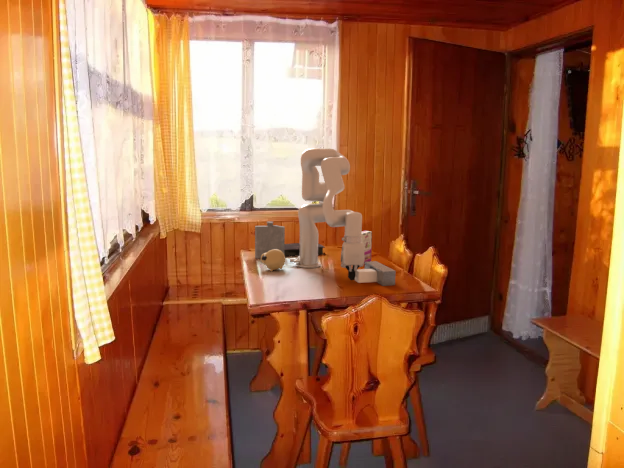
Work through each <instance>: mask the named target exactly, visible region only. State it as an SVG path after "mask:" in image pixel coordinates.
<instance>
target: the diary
mask: <svg viewBox="0 0 624 468" xmlns="http://www.w3.org/2000/svg"><path fill="white" fill-rule="evenodd" d="M324 248H326V247H325V246H324V245H323V244H320V243H318V256H324V255H325V253H324V252H323V251H324ZM299 252H300V242H293V243H285V246H284V255H285V258H287V257H298V256H299Z"/></svg>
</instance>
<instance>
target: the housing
mask: <svg viewBox="0 0 624 468" xmlns="http://www.w3.org/2000/svg"><path fill="white" fill-rule="evenodd" d="M374 268H375V269H376V270H378V271H377V282H376V283H377V284H379V285H380V286H382V287H385V286H387V287H389V286H396V274H397V273H396V270H395V269H393V268H391V267H389V266H386V265H385V264H383V263H381V262H379V261H376V260H373V261H372V260H371V261H370V262H365V263H364V269H374Z"/></svg>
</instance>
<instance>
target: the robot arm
mask: <svg viewBox="0 0 624 468" xmlns="http://www.w3.org/2000/svg"><path fill="white" fill-rule="evenodd" d="M317 167H320V169H321V174H322V177H323V181H320V172H319V169H318V168H317ZM300 168H301V173H302V175H301V197H302V199H303V201H306V202H319V203H308V204H303V205H301V206H300V207H299V208H298V210H297V216H298V223H299V243H300V252H299V256H297V257H296V258H290V259H289V262H290V263H295V266H296V267H298V268H305V269H314V268H315V269H316V268H319V267H322V266H321V265H322V264H321V262H319V255H318V244H319V230H318V227H317V226H316V223H326V224H327V225H328V226H329V227H330V228H339V227H344V235H343V237H341V241H343V243H342V246H341V251H340V267H341V268H344V269H346V270H347V272H348V273H347V277H348V279H349V280H350V281H355V275H356V271H357V269H360V268H361V267H364V265H365V263H364V260H365V258H364V246H363V243H362V242H361V235H362V230H363V229H362V227H363V215H362V213H361V212H358V211H353V210H351V209H334V205H333V199H334V196H336V195H338V194H340V193H341V192H343V191H344V190H345V187H346V186H345V183H344V179H343V176H345V175H348V174H349V173H350V171H351V164H350V162H349V160H348V158H347V157H346V156H345V155H343V154H342V153H340V152H339V151H338V150H336V149H334V148H321V147H320V148H317V147H315V148H306V149H305V150H304V151H303V152H302V154H301V156H300Z"/></svg>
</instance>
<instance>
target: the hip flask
mask: <svg viewBox="0 0 624 468" xmlns="http://www.w3.org/2000/svg"><path fill="white" fill-rule="evenodd" d="M285 229H286V227H285V226H284V225H283V226H282V225H277V224H275V225H274V221H266V225H255V226H254V258H255V259H257V260H259V259H260V260H261V255H262V254H263V253H267V252H268V251H270V250H272V249H279V250H281V251H282V252H283V253H284V246H285V244H286V243H285V241H286V240H285V237H286V235H285Z"/></svg>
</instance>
